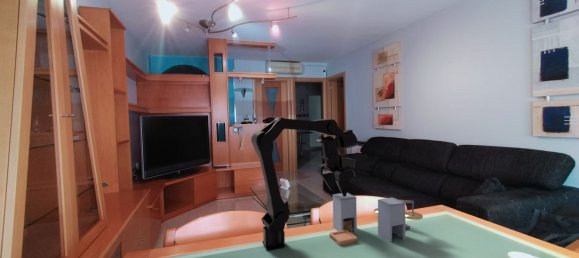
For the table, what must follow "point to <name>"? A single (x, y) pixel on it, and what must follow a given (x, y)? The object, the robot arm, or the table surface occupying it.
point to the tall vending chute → (344, 210)
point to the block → (347, 224)
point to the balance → (408, 213)
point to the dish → (343, 237)
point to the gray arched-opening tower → (391, 218)
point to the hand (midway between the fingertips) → (338, 193)
